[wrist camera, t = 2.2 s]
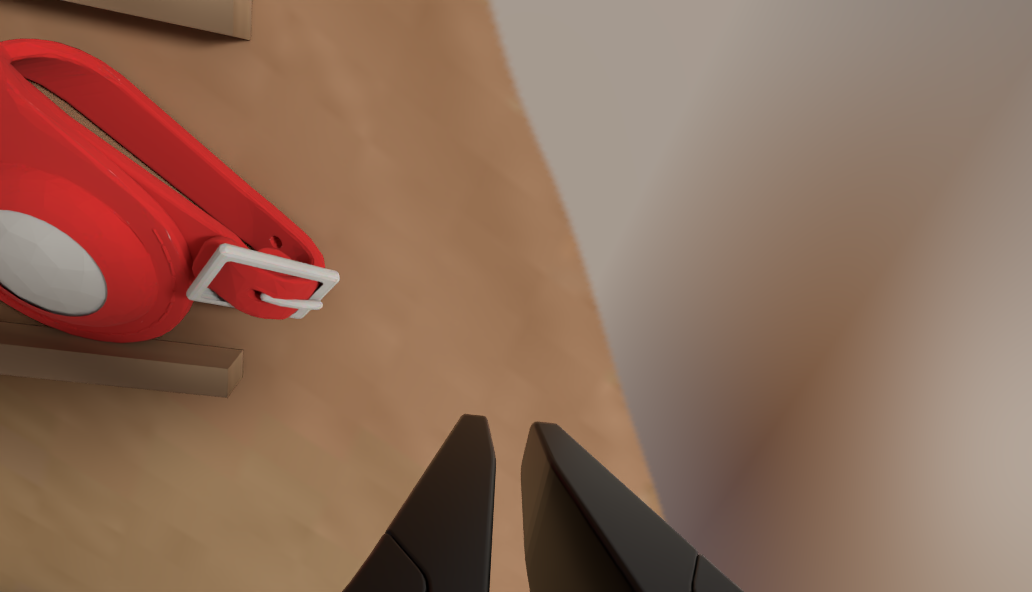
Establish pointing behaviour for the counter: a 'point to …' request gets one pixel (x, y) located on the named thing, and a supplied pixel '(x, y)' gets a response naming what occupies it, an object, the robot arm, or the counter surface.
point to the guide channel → (152, 363)
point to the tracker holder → (130, 211)
